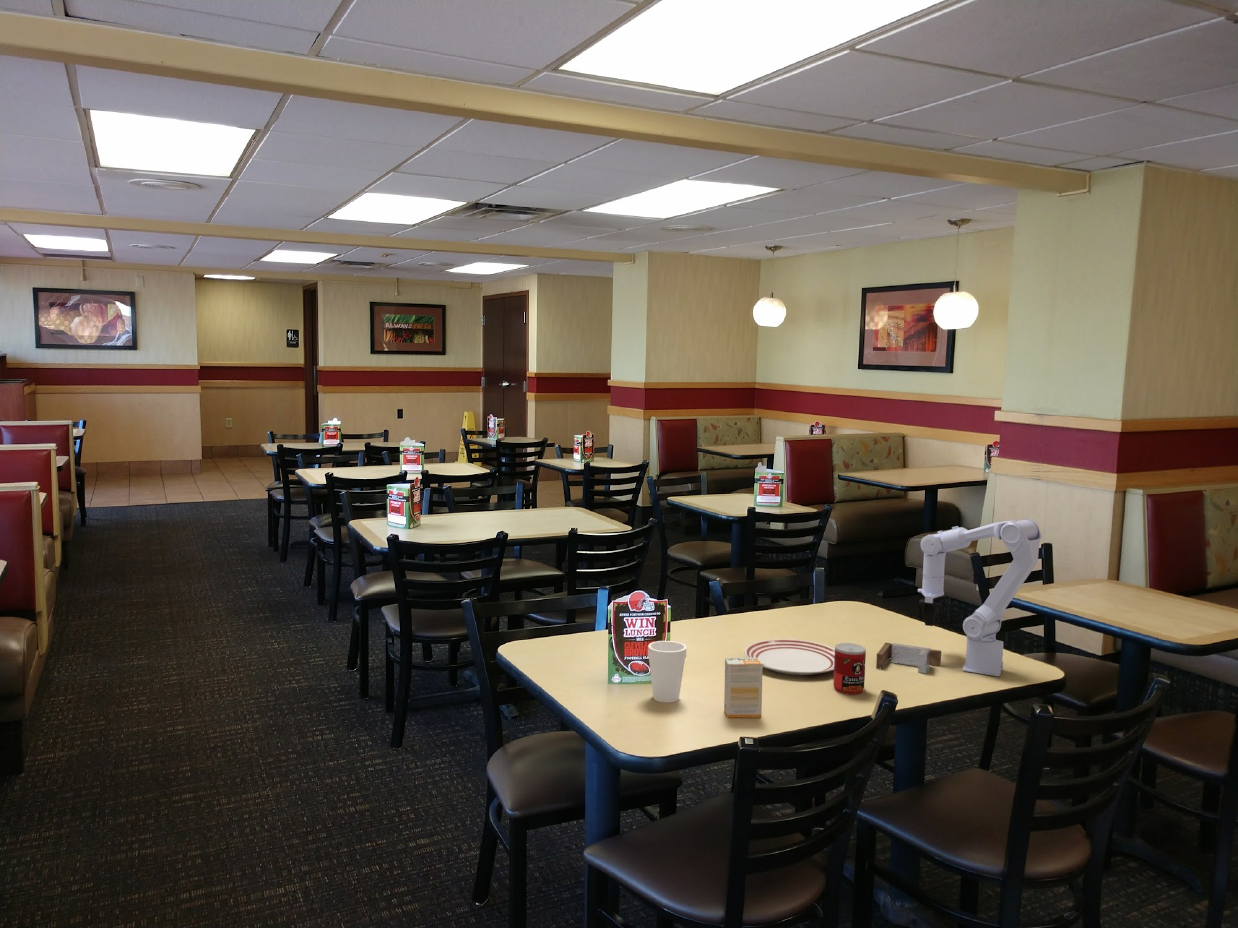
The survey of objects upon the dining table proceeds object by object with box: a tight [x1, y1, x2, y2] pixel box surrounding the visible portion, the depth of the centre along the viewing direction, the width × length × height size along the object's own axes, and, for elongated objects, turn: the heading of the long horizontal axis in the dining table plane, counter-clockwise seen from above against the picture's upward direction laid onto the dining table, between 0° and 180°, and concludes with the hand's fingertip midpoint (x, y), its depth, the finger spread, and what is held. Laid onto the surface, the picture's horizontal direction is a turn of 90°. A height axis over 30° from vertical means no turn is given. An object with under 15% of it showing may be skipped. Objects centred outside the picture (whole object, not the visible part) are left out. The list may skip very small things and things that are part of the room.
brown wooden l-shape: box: [875, 642, 942, 670], centre depth 247 cm, size 15×12×4 cm
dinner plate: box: [744, 638, 835, 676], centre depth 247 cm, size 28×27×3 cm
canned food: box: [833, 642, 867, 695], centre depth 227 cm, size 8×8×11 cm
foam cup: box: [647, 640, 687, 704], centre depth 219 cm, size 10×9×13 cm
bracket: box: [890, 642, 932, 674], centre depth 246 cm, size 10×7×5 cm
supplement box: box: [723, 657, 764, 719], centre depth 209 cm, size 8×5×13 cm, turn 92°
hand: (931, 622), depth 256 cm, fingers open, 7 cm apart
